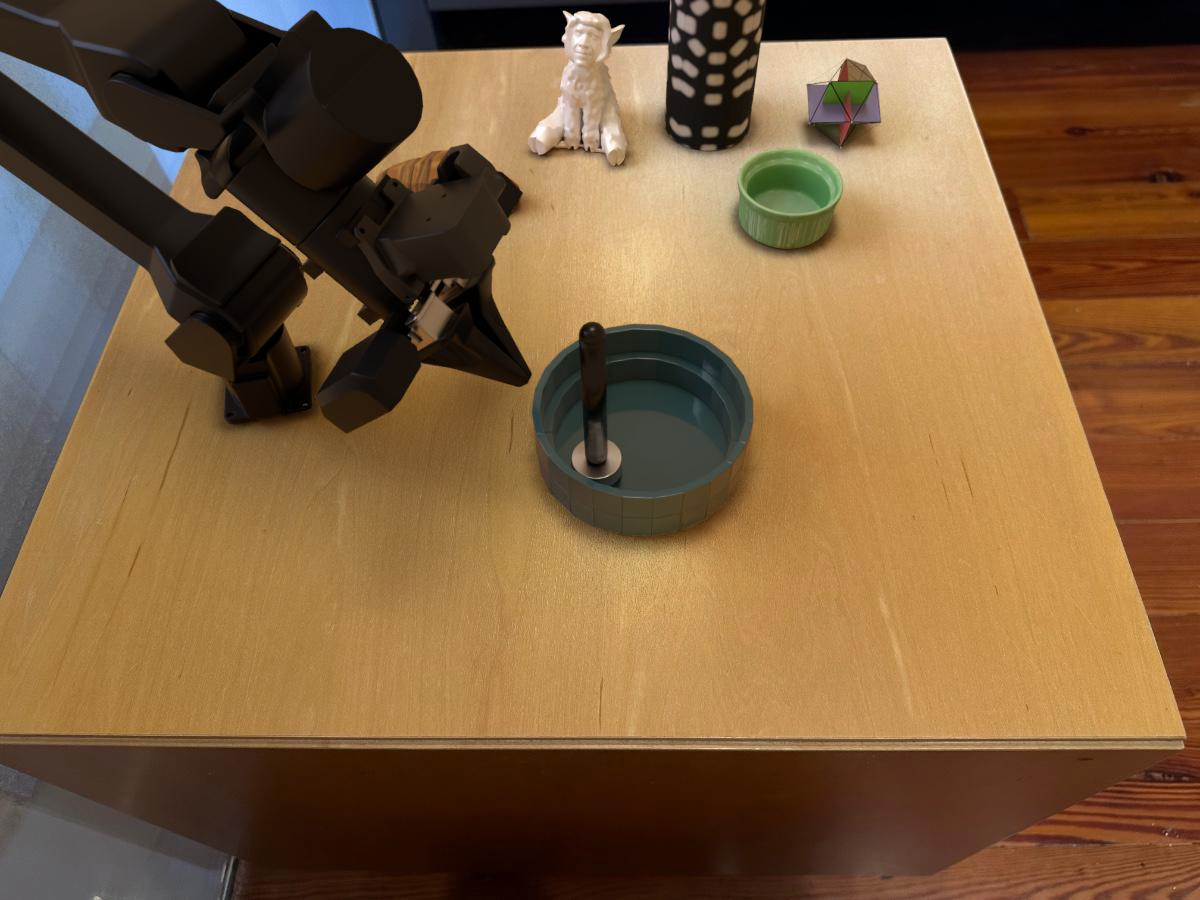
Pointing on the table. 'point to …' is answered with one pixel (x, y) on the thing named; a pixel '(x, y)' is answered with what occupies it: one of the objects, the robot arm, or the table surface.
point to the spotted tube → (712, 70)
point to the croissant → (418, 171)
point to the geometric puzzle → (845, 99)
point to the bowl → (648, 430)
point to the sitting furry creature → (585, 93)
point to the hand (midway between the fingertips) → (526, 381)
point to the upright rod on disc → (595, 411)
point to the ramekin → (788, 197)
